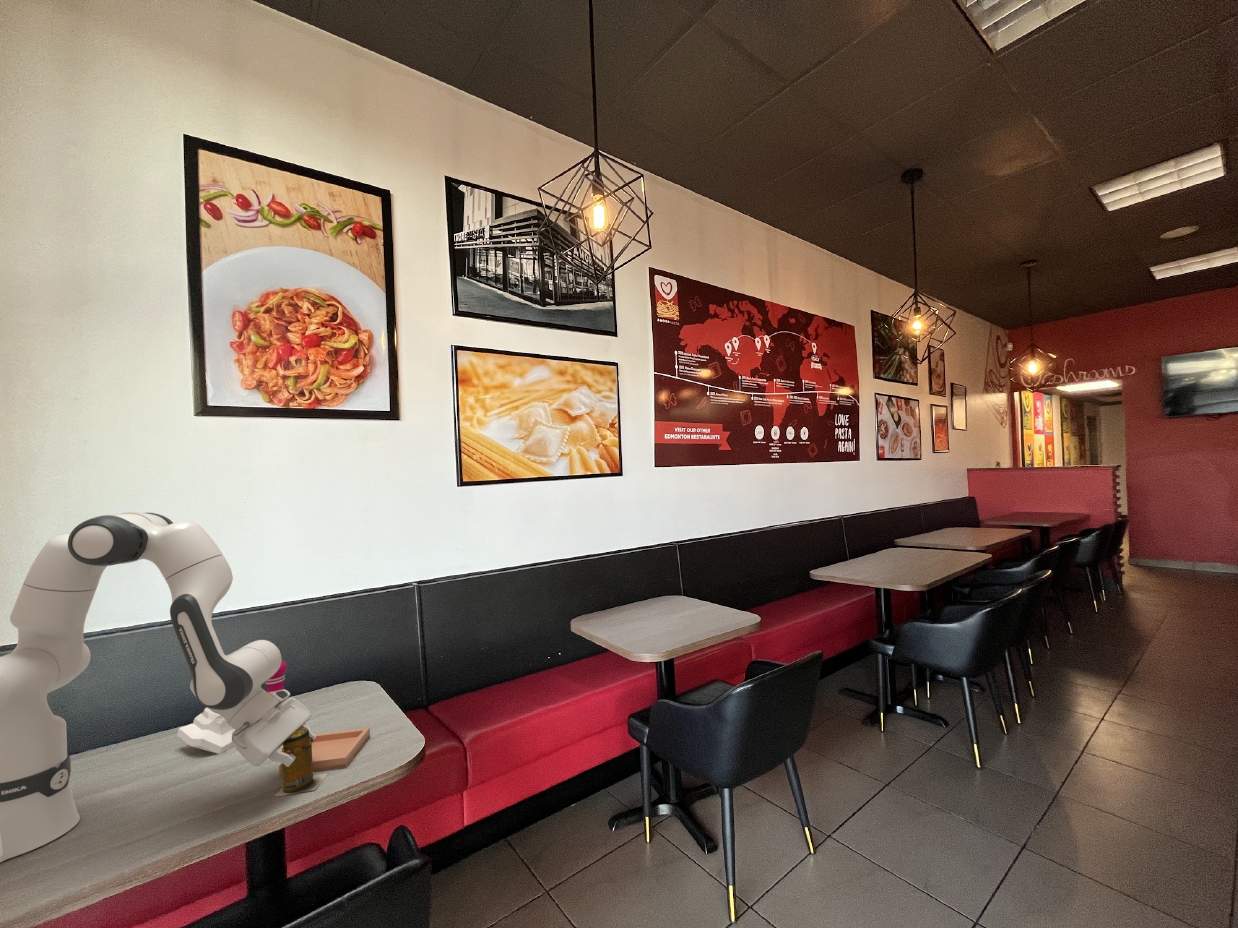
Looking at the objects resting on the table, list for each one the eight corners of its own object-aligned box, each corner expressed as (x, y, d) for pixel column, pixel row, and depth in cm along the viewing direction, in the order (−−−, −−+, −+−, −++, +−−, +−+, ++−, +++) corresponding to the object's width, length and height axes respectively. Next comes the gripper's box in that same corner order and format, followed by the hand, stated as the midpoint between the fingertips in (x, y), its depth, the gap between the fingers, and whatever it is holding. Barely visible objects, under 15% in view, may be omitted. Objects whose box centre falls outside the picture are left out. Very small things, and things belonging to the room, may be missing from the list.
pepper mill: (296, 715, 156) (293, 650, 157) (278, 726, 149) (275, 658, 150) (275, 716, 157) (272, 651, 158) (256, 727, 150) (253, 659, 151)
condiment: (289, 779, 120) (287, 728, 121) (328, 773, 122) (325, 723, 122) (274, 797, 113) (271, 743, 114) (314, 791, 115) (312, 737, 115)
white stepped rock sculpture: (227, 736, 149) (241, 685, 152) (246, 753, 140) (261, 699, 143) (173, 744, 139) (190, 690, 142) (191, 763, 130) (208, 705, 133)
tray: (279, 776, 122) (279, 765, 122) (310, 743, 137) (310, 734, 137) (346, 767, 124) (345, 757, 124) (369, 736, 139) (369, 727, 139)
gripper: (237, 724, 107) (288, 764, 108) (289, 686, 128) (332, 720, 128) (216, 748, 107) (267, 788, 107) (271, 706, 127) (314, 740, 128)
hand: (303, 751), depth 118 cm, fingers open, 8 cm apart
